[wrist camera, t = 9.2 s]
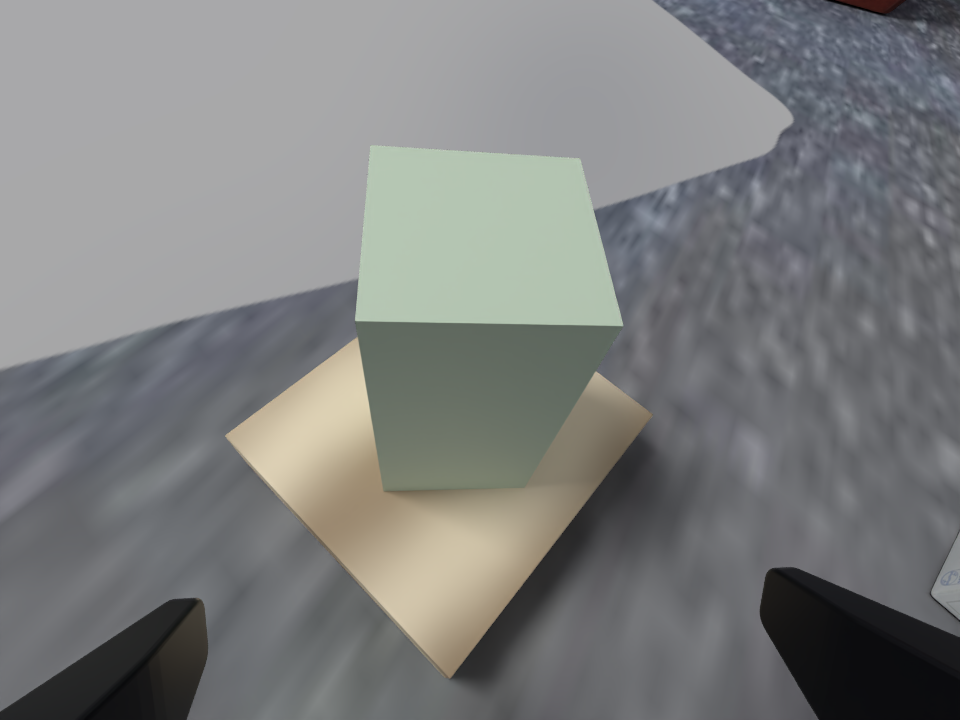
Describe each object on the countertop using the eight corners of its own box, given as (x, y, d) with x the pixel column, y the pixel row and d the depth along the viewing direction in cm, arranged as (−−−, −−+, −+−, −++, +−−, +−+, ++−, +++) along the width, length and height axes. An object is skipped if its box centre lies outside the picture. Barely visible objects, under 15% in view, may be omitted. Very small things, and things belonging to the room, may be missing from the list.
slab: (626, 443, 23) (653, 414, 20) (444, 677, 17) (450, 679, 15) (450, 304, 26) (454, 264, 23) (248, 465, 20) (224, 435, 18)
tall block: (524, 487, 18) (623, 325, 9) (383, 491, 17) (355, 321, 9) (511, 368, 21) (580, 158, 12) (388, 367, 20) (370, 145, 11)
